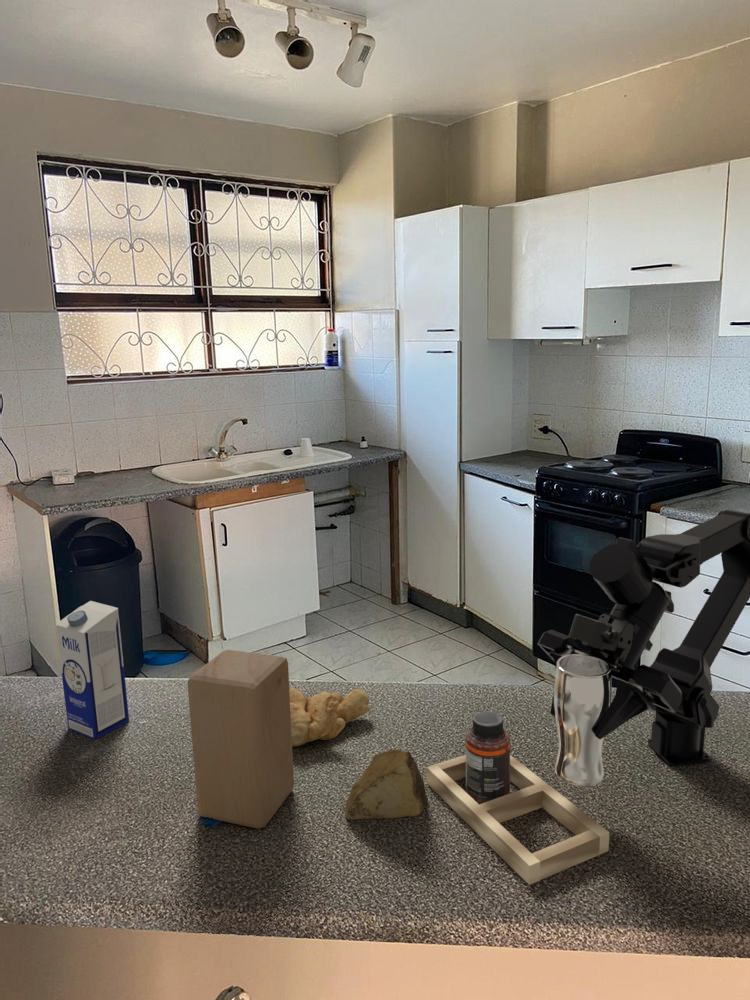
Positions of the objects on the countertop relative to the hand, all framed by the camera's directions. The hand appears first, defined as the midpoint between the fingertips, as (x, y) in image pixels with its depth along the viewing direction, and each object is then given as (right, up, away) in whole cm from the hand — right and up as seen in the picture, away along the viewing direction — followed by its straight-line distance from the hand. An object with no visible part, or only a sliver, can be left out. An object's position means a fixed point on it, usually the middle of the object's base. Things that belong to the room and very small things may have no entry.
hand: (574, 726), depth 93 cm
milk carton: (-70, -9, +29) cm, 76 cm away
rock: (-24, -13, +5) cm, 27 cm away
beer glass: (+1, -7, +2) cm, 7 cm away
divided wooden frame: (-7, -13, +4) cm, 15 cm away
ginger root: (-35, -9, +25) cm, 44 cm away
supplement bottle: (-10, -12, +8) cm, 17 cm away
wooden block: (-42, -13, +7) cm, 45 cm away
